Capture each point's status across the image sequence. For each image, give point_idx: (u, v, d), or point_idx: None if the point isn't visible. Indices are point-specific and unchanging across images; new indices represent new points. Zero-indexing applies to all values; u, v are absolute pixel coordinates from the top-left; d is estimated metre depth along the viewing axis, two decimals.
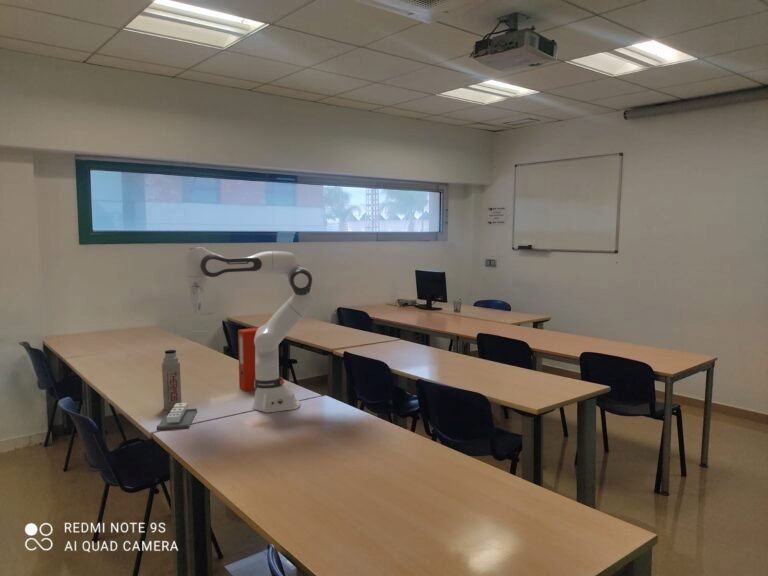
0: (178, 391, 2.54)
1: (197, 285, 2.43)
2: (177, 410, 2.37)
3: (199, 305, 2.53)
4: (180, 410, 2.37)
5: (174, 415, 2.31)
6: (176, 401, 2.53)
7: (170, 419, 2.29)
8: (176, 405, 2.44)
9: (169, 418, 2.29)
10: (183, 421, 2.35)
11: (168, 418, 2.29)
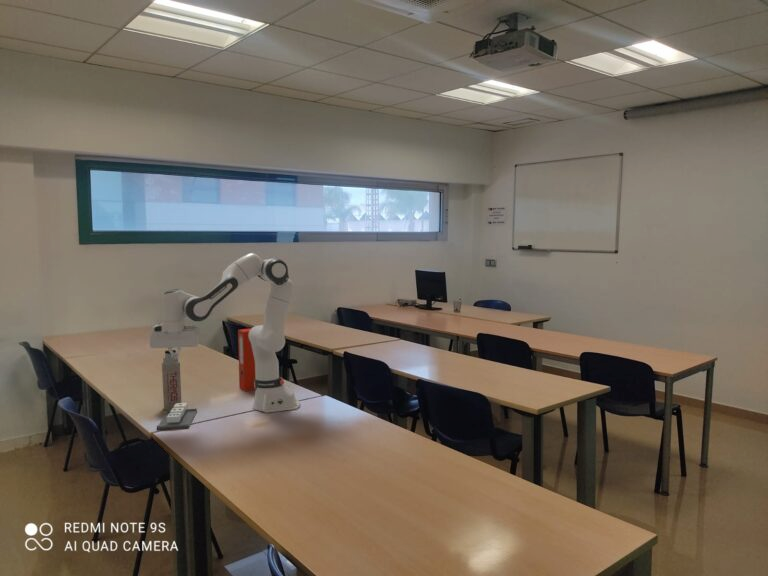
0: (178, 391, 2.54)
1: None
2: (177, 410, 2.37)
3: (172, 352, 2.36)
4: (180, 410, 2.37)
5: (174, 415, 2.31)
6: (176, 401, 2.53)
7: (170, 419, 2.29)
8: (176, 405, 2.44)
9: (169, 418, 2.29)
10: (183, 421, 2.35)
11: (168, 418, 2.29)
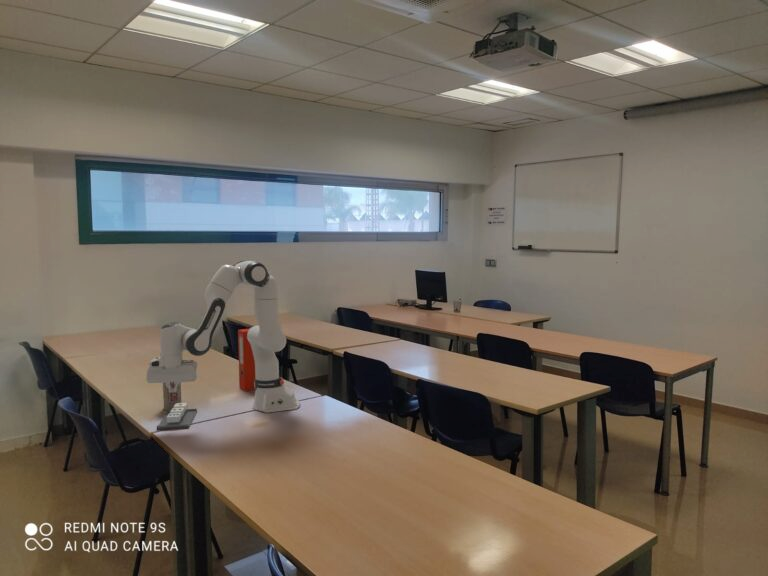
0: (178, 391, 2.54)
1: None
2: (177, 410, 2.37)
3: None
4: (180, 410, 2.37)
5: (174, 415, 2.31)
6: (176, 401, 2.53)
7: (170, 419, 2.29)
8: (176, 405, 2.44)
9: (169, 418, 2.29)
10: (183, 421, 2.35)
11: (168, 418, 2.29)
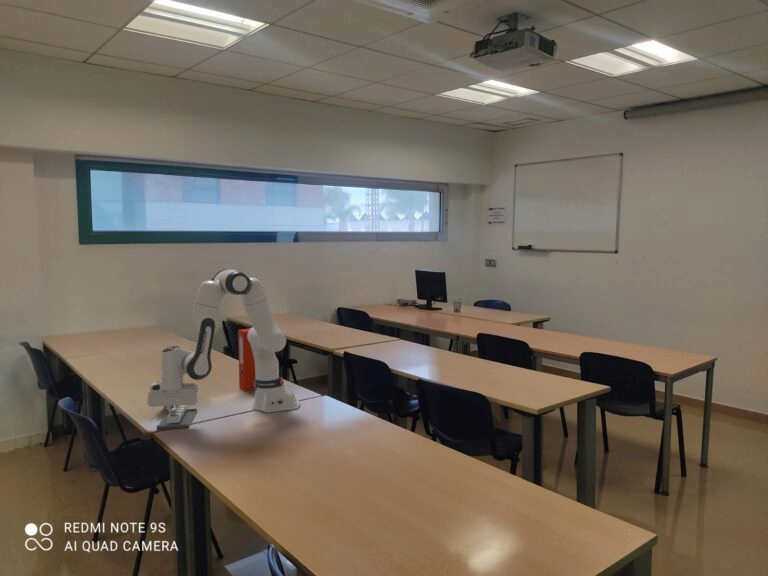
0: None
1: None
2: (177, 410, 2.37)
3: (170, 409, 2.31)
4: (180, 410, 2.37)
5: (174, 415, 2.31)
6: None
7: (170, 419, 2.29)
8: None
9: (169, 418, 2.29)
10: (183, 421, 2.35)
11: (168, 418, 2.29)
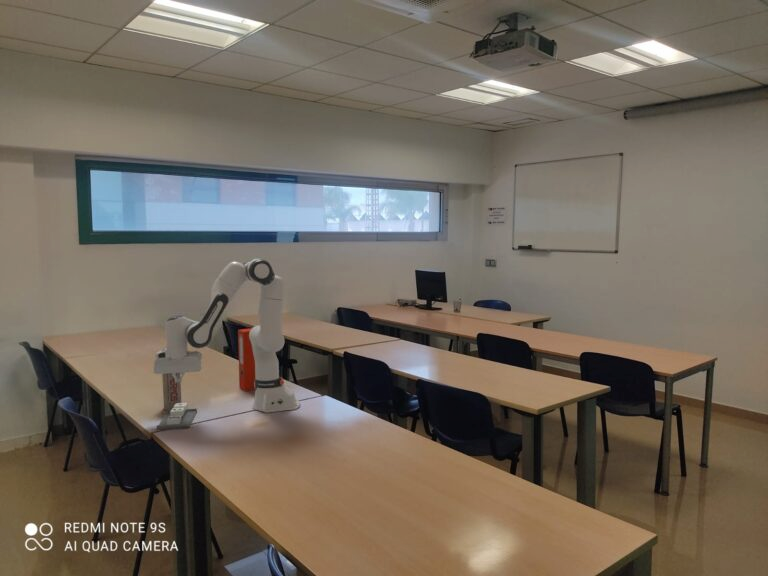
0: (178, 391, 2.54)
1: None
2: (177, 410, 2.37)
3: (176, 377, 2.41)
4: (180, 410, 2.37)
5: (174, 418, 2.31)
6: (176, 401, 2.53)
7: (170, 422, 2.29)
8: (176, 405, 2.44)
9: (169, 421, 2.29)
10: (183, 421, 2.35)
11: (168, 421, 2.29)
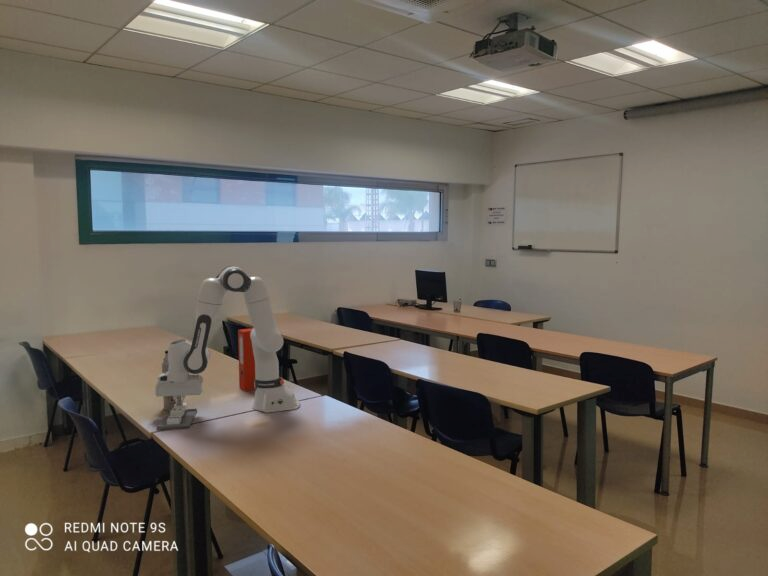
0: None
1: None
2: (177, 410, 2.37)
3: (177, 399, 2.45)
4: (180, 410, 2.37)
5: (174, 418, 2.31)
6: None
7: (170, 422, 2.29)
8: (176, 405, 2.44)
9: (169, 421, 2.29)
10: (183, 421, 2.35)
11: (168, 421, 2.29)
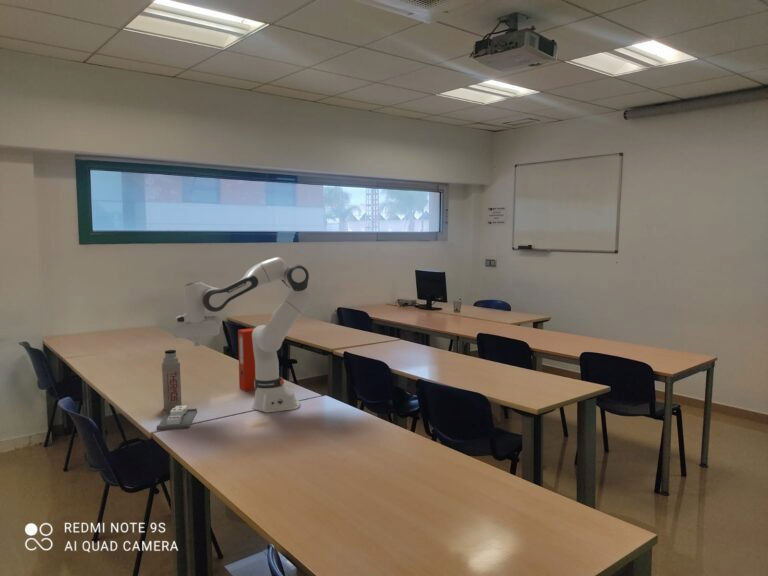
0: (178, 391, 2.54)
1: None
2: (177, 410, 2.37)
3: (195, 341, 2.49)
4: (180, 410, 2.37)
5: (174, 418, 2.31)
6: (176, 401, 2.53)
7: (170, 422, 2.29)
8: None
9: (169, 421, 2.29)
10: (183, 421, 2.35)
11: (168, 421, 2.29)
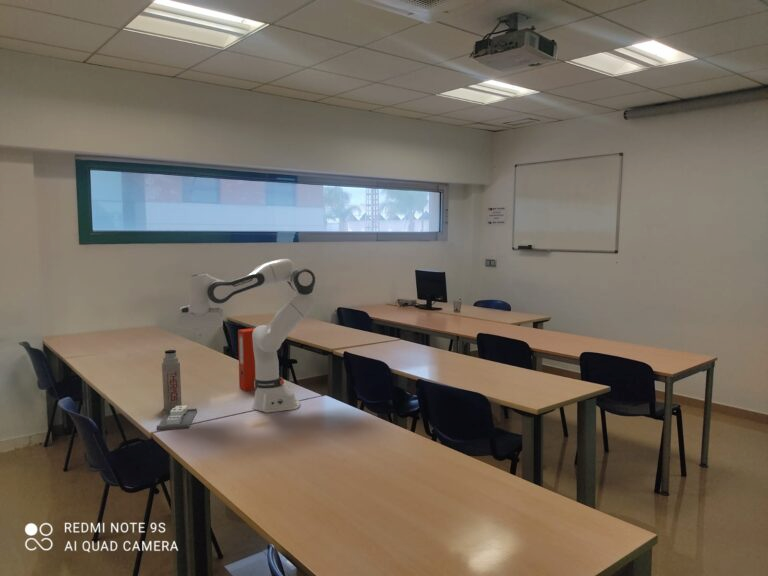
0: (178, 391, 2.54)
1: None
2: (177, 410, 2.37)
3: (198, 332, 2.50)
4: (180, 410, 2.37)
5: (174, 418, 2.31)
6: (176, 401, 2.53)
7: (170, 422, 2.29)
8: None
9: (169, 421, 2.29)
10: (183, 421, 2.35)
11: (168, 421, 2.29)
